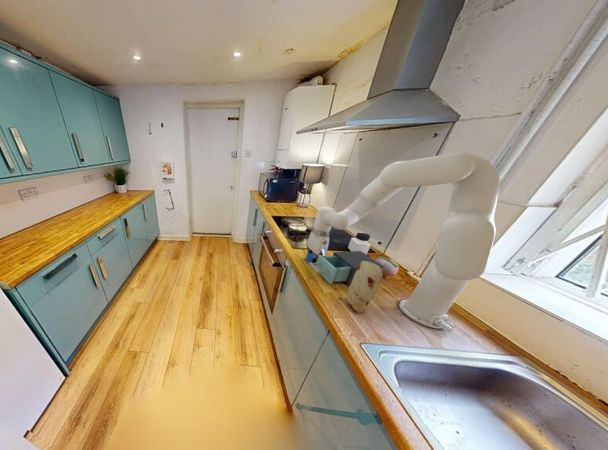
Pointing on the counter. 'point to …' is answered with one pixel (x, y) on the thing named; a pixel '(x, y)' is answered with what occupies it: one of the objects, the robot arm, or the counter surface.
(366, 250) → the medicine bottle
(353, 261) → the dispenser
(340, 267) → the teal drawer
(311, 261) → the blue cube
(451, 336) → the counter surface
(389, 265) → the decorative fruit
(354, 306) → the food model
